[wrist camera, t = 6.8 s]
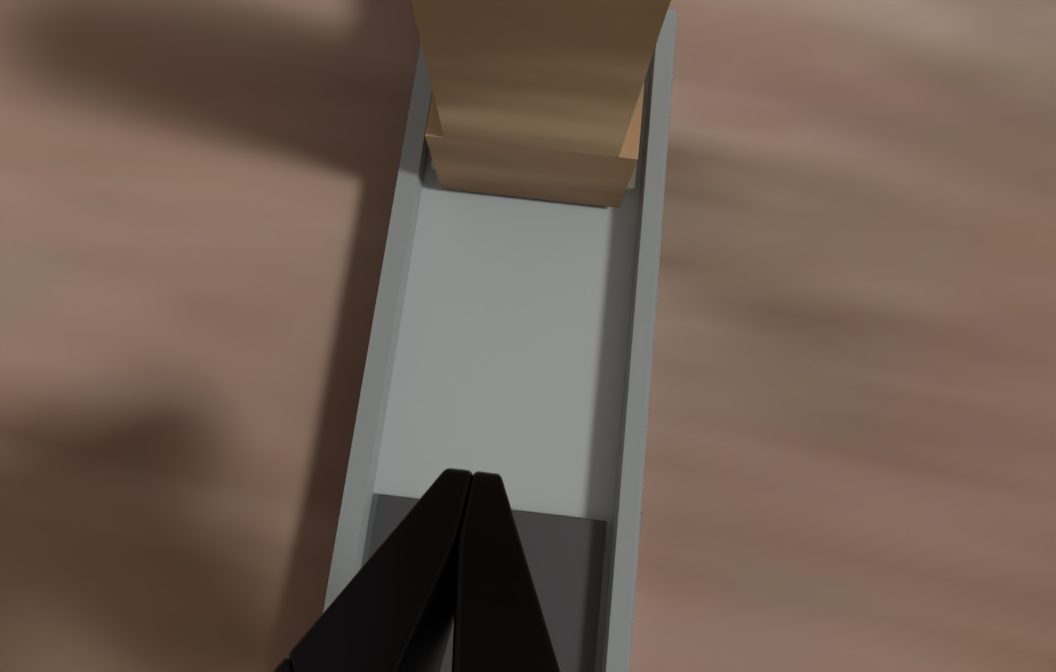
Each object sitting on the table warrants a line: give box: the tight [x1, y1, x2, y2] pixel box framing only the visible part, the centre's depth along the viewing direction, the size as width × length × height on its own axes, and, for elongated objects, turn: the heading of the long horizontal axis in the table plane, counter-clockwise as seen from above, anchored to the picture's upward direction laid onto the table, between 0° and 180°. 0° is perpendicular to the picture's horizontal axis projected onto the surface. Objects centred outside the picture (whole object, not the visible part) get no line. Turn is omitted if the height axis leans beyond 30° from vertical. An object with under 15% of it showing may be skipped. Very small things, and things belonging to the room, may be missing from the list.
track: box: [323, 9, 678, 672], centre depth 17 cm, size 22×8×1 cm, turn 173°
